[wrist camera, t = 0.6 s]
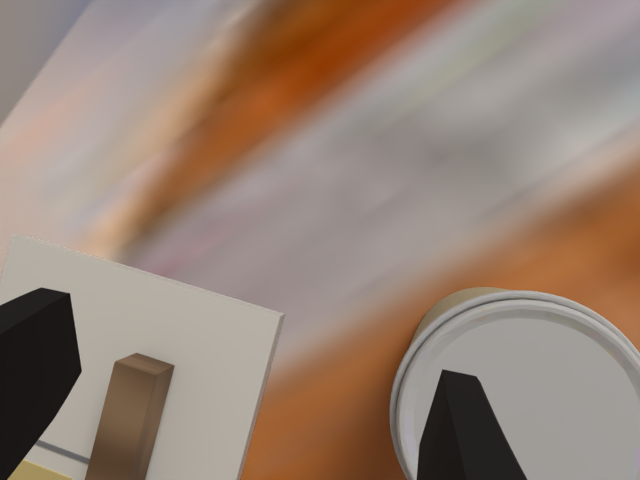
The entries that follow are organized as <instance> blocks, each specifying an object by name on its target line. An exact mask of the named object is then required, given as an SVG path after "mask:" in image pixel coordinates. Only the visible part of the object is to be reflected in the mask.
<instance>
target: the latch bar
mask: <svg viewBox="0 0 640 480" xmlns="http://www.w3.org/2000/svg"><path fill="white" fill-rule="evenodd" d="M174 366H175V365H172V364H169V363H166V362H163V361H160V360H157V359H154V358H151V357H148V356H145V355H142V354H139V353H135V354H132V355H130V356H127V357H125V358H122V359H120V360H117V361H115V363H114V366H113V370H112V374H111V378H110V382H109V386H108V390H107V394H106V398H105V402H104V406H103V410H102V414H101V418H100V421H99V425H98V429H97V433H96V437H95V441H94V445H93V449H92V453H91V457H90V461H89V465H88V469H87V473H86V476H85V480H145V478H146V474H147V470H148V466H149V463H150V459H151V455H152V451H153V447H154V443H155V440H156V436H157V432H158V428H159V424H160V420H161V416H162V413H163V409H164V405H165V401H166V397H167V393H168V390H169V386H170V382H171V378H172V374H173V370H174Z"/></svg>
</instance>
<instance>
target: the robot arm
mask: <svg viewBox="0 0 640 480" xmlns="http://www.w3.org/2000/svg"><path fill="white" fill-rule="evenodd" d="M81 372H82V368H81V362H80V355H79V349H78V342H77V335H76V329H75V322H74V316H73V309H72V303H71V296H70V293H66V292H61V291H56V290H52V289H47V288H42V287H41V288H38V289H36V290H33V291H31V292H28V293H26V294H24V295H22V296H19V297H17V298H15V299H13V300H11V301H8V302H6V303H4V304H2V305H0V480H7V479H8V478H9V477H10V476H11V474H12V473H13V472H14V470H15V469H16V468H17V467H18V465H19V464H20V463H21V461H22V460H23V459H24V458H25V456H26V455H27V454H28V452H29V451H30V450H31V448H32V447H33V446H34V445H35V443H36V442H37V441H38V439H39V438H40V437H41V435H42V434H43V433H44V431H45V430H46V429H47V428H48V426H49V425H50V423H51V422H52V421H53V419H54V418H55V417H56V415H57V413H58V412H59V410H60V408H61V407H62V405H63V404H64V402H65V400H66V399H67V397H68V395H69V393H70V392H71V390H72V388H73V386H74V385H75V383H76V381H77V379H78V378H79V376H80V374H81ZM417 480H527V478H526V476H525V474H524V472H523V470H522V468H521V467H520V465H519V463H518V461H517V459H516V457H515V455H514V453H513V451H512V449H511V447H510V445H509V443H508V441H507V439H506V437H505V435H504V433H503V431H502V429H501V427H500V425H499V423H498V420H497V418H496V416H495V414H494V412H493V410H492V407H491V405H490V403H489V401H488V398H487V396H486V394H485V392H484V389H483V387H482V384H481V382H480V381H479V379H478V378H477V376H473V375H468V374H463V373H459V372H454V371H449V370H444V369H442V372H441V375H440V378H439V381H438V385H437V388H436V391H435V395H434V398H433V401H432V405H431V408H430V411H429V414H428V418H427V421H426V424H425V428H424V431H423V434H422V437H421V441H420V444H419V454H418V468H417Z"/></svg>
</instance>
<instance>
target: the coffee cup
mask: <svg viewBox="0 0 640 480" xmlns="http://www.w3.org/2000/svg"><path fill="white" fill-rule="evenodd" d="M442 369H444V370H449V371H454V372H459V373H463V374H468V375H473V376H477V378H478V379H479V381H480V382H481V384H482V387H483V389H484V392H485V394H486V396H487V398H488V401H489V403H490V405H491V407H492V410H493V412H494V414H495V416H496V418H497V420H498V423H499V425H500V427H501V429H502V431H503V433H504V435H505V437H506V439H507V441H508V443H509V445H510V447H511V449H512V451H513V453H514V455H515V457H516V459H517V461H518V463H519V465H520V467H521V468H522V470H523V472H524V474H525V476H526V478H527V480H640V353H639V352H638V350H637V349H636V348H635V347H634V345H633V344H632V343H631V342H630V341H629V340H628V339H627V338H626V337H625V336H624V335H623V334H622V333H621V332H620V331H619V330H618V329H617V328H616V327H615V326H614V325H612V324H611V323H610V322H609V321H608V320H606V319H605V318H604V317H602V316H600V315H599V314H597V313H596V312H594V311H593V310H591V309H589V308H587V307H585V306H583V305H581V304H579V303H577V302H574V301H572V300H569V299H566V298H564V297H560V296H556V295H553V294H548V293H542V292H536V291H523V290H517V291H514V290H508V289H500V288H491V287H477V288H469V289H464V290H461V291H458V292H455V293H453V294H451V295H449V296H447V297H445V298H443V299H442V300H440V301H439V302H438V303H437V304H435V305H434V306H433V307H432V308H431V309H430V310H429V311H428V312H427V313H426V315H425V316H424V318H423V319H422V321H421V322H420V324H419V326H418V328H417V330H416V332H415V334H414V337H413V339H412V341H411V344H410V346H409V349H408V350H407V352H406V354H405V355H404V357H403V359H402V361H401V363H400V365H399V368H398V370H397V373H396V376H395V379H394V383H393V387H392V392H391V399H390V429H391V436H392V440H393V445H394V449H395V452H396V455H397V458H398V461H399V464H400V466H401V468H402V470H403V472H404V475H405V476H406V478H407V480H417V468H418V454H419V444H420V441H421V437H422V434H423V431H424V428H425V424H426V421H427V418H428V414H429V411H430V408H431V405H432V401H433V398H434V395H435V391H436V388H437V385H438V381H439V378H440V375H441V372H442Z"/></svg>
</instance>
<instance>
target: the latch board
mask: <svg viewBox="0 0 640 480" xmlns="http://www.w3.org/2000/svg"><path fill="white" fill-rule="evenodd" d="M41 287H42V288H47V289H52V290H56V291H61V292H66V293H70V296H71V303H72V309H73V316H74V322H75V329H76V335H77V342H78V349H79V355H80V362H81V368H82V372H81V374H80V376H79V378H78V379H77V381H76V383H75V385H74V386H73V388H72V390H71V392H70V393H69V395H68V397H67V399H66V400H65V402H64V404H63V405H62V407H61V408H60V410H59V412H58V413H57V415H56V417H55V418H54V419H53V421H52V422H51V423H50V425H49V426H48V428H47V429H46V430H45V431H44V433H43V434H42V435H41V437H40V438H39V439H38V441H37V442H36V443H35V445H34V446H33V447H32V448H31V450H30V451H29V452H28V454H27V455H26V456H25V458H24V459H23V460H22V461H21V463H20V464H19V465H18V467H17V468H16V469H15V470H14V472H13V473H12V474H11V476H10V477H9V478H8V479H7V480H85V476H86V473H87V469H88V465H89V461H90V457H91V453H92V449H93V445H94V441H95V437H96V433H97V429H98V425H99V421H100V418H101V414H102V410H103V406H104V402H105V398H106V394H107V390H108V386H109V382H110V378H111V374H112V370H113V366H114V363H115V361H117V360H120V359H122V358H125V357H127V356H130V355H132V354H135V353H139V354H142V355H145V356H148V357H151V358H154V359H157V360H160V361H163V362H166V363H169V364H172V365H175V366H174V370H173V374H172V378H171V382H170V386H169V390H168V393H167V397H166V401H165V405H164V409H163V413H162V416H161V420H160V424H159V428H158V432H157V436H156V440H155V443H154V447H153V451H152V455H151V459H150V463H149V466H148V470H147V474H146V478H145V480H240V479H241V475H242V472H243V468H244V464H245V460H246V457H247V453H248V449H249V446H250V442H251V438H252V434H253V431H254V427H255V423H256V419H257V416H258V412H259V408H260V405H261V401H262V397H263V393H264V390H265V386H266V382H267V378H268V375H269V371H270V367H271V364H272V360H273V356H274V352H275V349H276V345H277V341H278V337H279V334H280V330H281V326H282V323H283V319H284V315H285V314H284V313H281V312H277V311H274V310H271V309H267V308H264V307H261V306H258V305H254V304H251V303H248V302H244V301H241V300H238V299H235V298H231V297H228V296H225V295H222V294H218V293H215V292H212V291H208V290H205V289H202V288H199V287H195V286H192V285H189V284H185V283H182V282H179V281H176V280H172V279H169V278H166V277H163V276H159V275H156V274H153V273H149V272H146V271H143V270H140V269H136V268H133V267H130V266H126V265H123V264H120V263H117V262H113V261H110V260H107V259H103V258H100V257H97V256H94V255H90V254H87V253H84V252H81V251H77V250H74V249H71V248H67V247H64V246H61V245H58V244H54V243H51V242H48V241H44V240H41V239H38V238H35V237H31V236H28V235H12V236H11V240H10V244H9V248H8V252H7V256H6V261H5V265H4V269H3V273H2V277H1V281H0V305H2V304H4V303H6V302H8V301H11V300H13V299H15V298H17V297H19V296H22V295H24V294H26V293H28V292H31V291H33V290H36V289H38V288H41Z"/></svg>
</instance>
